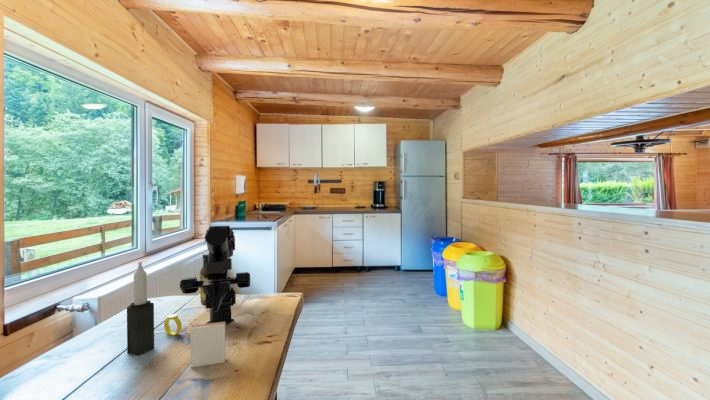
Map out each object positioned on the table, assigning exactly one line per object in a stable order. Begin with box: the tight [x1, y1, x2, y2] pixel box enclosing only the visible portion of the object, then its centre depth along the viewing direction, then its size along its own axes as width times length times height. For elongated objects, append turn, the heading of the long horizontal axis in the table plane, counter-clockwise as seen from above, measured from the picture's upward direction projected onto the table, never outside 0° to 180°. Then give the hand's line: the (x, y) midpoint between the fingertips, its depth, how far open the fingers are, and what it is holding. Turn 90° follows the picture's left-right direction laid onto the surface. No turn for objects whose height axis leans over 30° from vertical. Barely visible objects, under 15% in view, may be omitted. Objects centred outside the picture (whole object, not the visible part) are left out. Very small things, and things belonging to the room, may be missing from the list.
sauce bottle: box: [199, 252, 209, 305], centre depth 120 cm, size 6×6×20 cm
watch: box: [163, 313, 183, 337], centre depth 93 cm, size 6×3×6 cm, turn 70°
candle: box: [126, 261, 155, 356], centre depth 83 cm, size 5×5×25 cm
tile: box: [190, 322, 227, 368], centre depth 78 cm, size 2×8×10 cm, turn 108°
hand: (215, 311), depth 84 cm, fingers closed
